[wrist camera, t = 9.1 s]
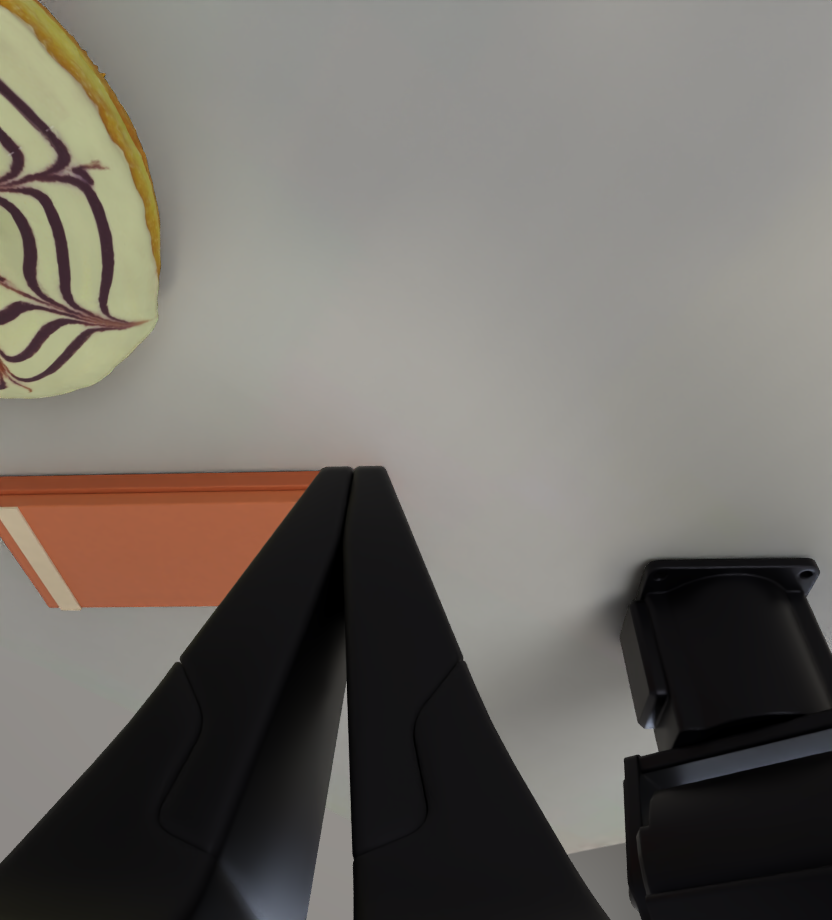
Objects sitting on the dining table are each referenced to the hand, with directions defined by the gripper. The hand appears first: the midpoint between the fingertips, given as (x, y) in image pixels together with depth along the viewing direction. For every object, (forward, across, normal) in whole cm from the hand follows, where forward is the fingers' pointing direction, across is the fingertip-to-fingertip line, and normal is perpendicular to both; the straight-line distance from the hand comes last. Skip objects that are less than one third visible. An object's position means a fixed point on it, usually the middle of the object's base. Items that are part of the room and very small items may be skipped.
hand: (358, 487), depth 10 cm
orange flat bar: (+11, +8, +13) cm, 19 cm away
